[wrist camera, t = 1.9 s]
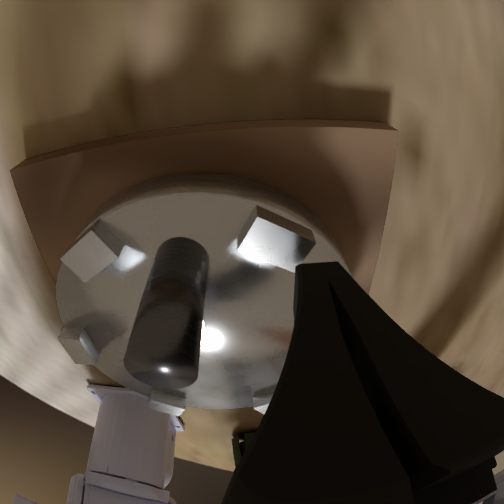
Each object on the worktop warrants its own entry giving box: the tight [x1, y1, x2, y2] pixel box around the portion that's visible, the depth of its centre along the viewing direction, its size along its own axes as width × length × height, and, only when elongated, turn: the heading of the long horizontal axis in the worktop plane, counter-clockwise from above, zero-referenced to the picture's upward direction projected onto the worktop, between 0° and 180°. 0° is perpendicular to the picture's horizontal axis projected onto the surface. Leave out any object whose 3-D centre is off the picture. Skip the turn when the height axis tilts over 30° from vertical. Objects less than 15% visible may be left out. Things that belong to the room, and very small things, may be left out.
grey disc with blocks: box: [56, 172, 352, 416], centre depth 13 cm, size 15×15×7 cm
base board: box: [10, 119, 398, 383], centre depth 17 cm, size 18×18×2 cm
